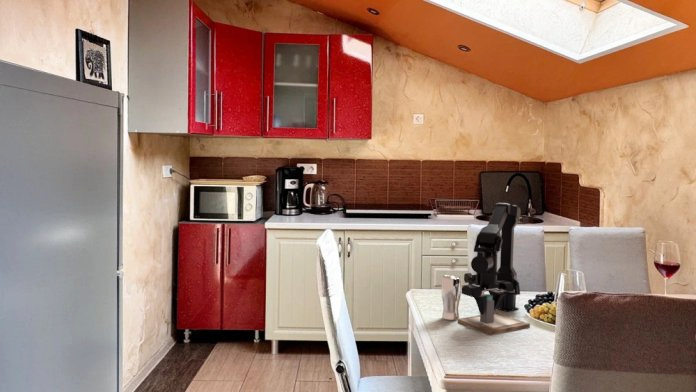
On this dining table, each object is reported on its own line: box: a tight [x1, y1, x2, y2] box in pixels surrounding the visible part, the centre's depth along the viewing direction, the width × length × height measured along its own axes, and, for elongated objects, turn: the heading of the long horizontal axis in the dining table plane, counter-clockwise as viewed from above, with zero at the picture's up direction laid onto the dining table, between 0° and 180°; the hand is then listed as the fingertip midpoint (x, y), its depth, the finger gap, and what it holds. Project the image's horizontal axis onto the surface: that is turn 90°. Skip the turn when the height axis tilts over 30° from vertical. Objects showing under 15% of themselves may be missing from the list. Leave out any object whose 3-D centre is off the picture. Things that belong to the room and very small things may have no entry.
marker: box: [479, 293, 495, 324], centre depth 196 cm, size 3×3×9 cm
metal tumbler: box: [441, 274, 462, 322], centre depth 205 cm, size 7×7×15 cm
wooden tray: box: [457, 311, 531, 336], centre depth 198 cm, size 18×16×2 cm
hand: (487, 313), depth 196 cm, fingers open, 5 cm apart
